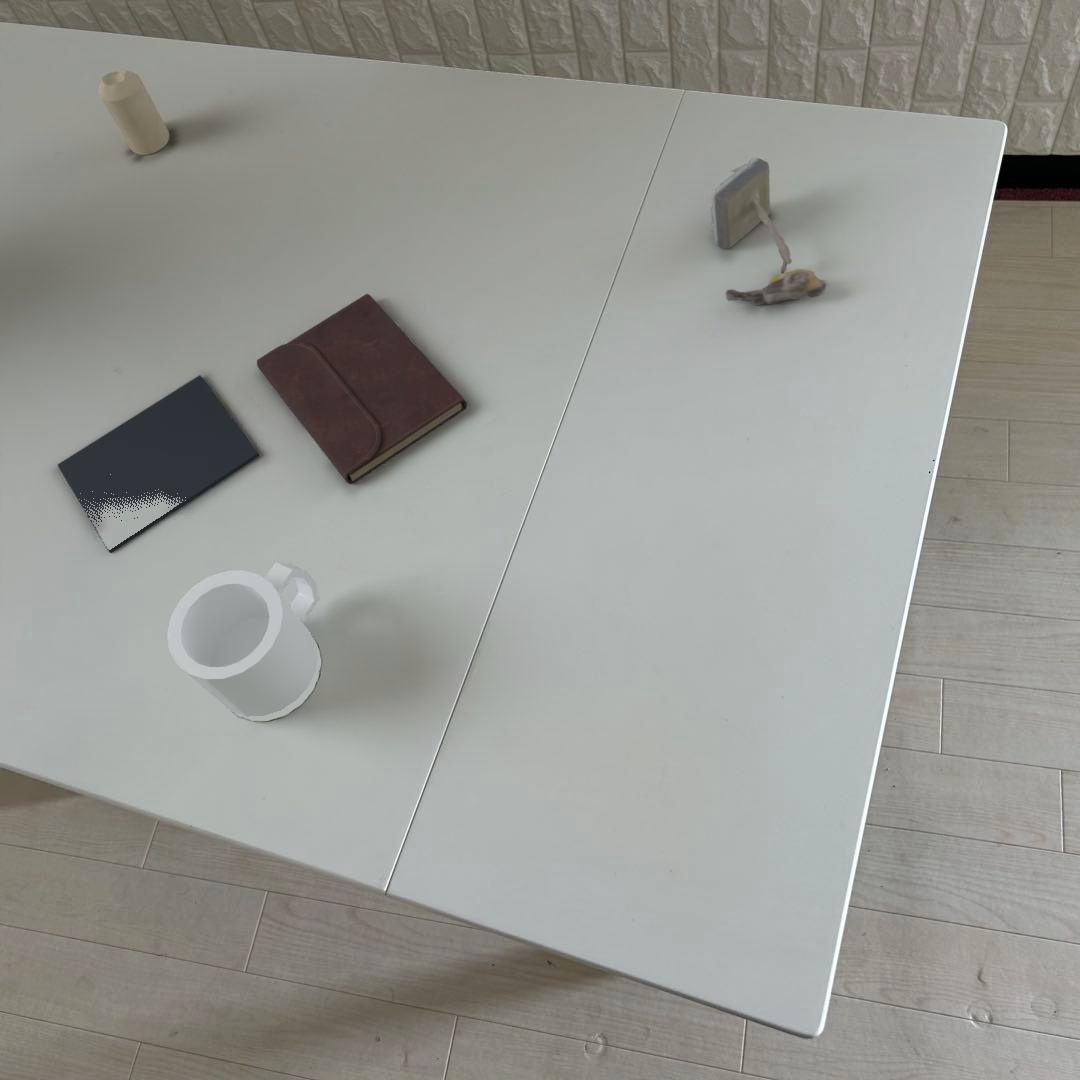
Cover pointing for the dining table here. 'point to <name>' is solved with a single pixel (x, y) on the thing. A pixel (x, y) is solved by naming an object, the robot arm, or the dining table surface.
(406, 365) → the notebook
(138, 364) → the dining table surface
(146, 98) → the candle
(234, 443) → the mat
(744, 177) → the decorative sculpture
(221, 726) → the dining table surface
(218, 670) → the mug
